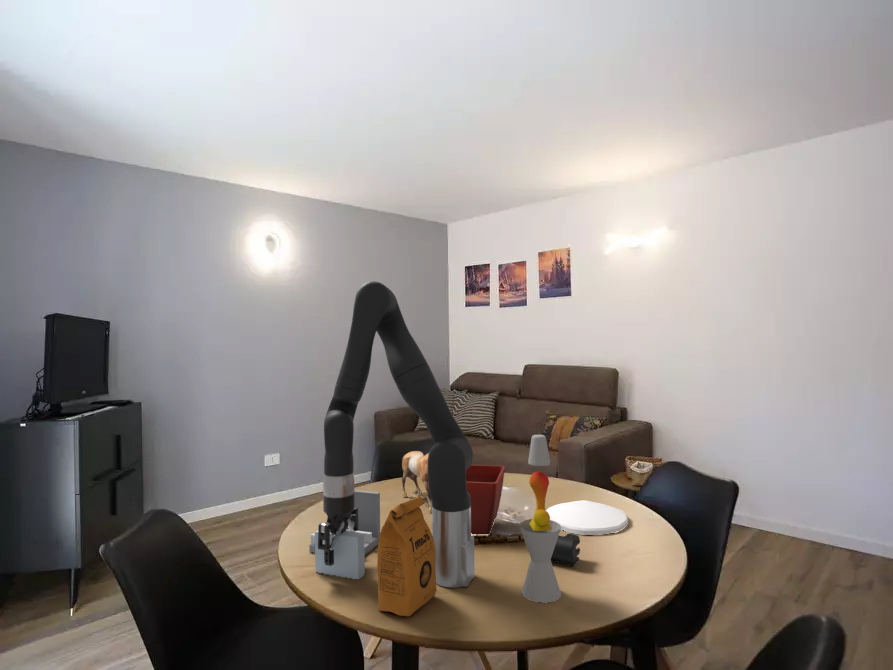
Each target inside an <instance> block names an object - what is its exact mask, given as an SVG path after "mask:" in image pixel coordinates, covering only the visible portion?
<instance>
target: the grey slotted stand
mask: <svg viewBox="0 0 893 670" xmlns="http://www.w3.org/2000/svg"><path fill="white" fill-rule="evenodd" d="M380 494H381V493H380V492H377V491H376V492H375V491H370V490H369V491H366V490H356V489H355V508H358V525H359V529H358V531H355V532H358V533H364V555H365V556H366V555H367V554H368V553H369V552H371V551H372V550H373V549H374V548H376V547H378V542H379V535H380V532H381V497H380V496H381V495H380ZM352 525H353V526H354V522H352ZM308 546H309V551H308V552H309V553H310V552H313V553H312V554H315V533H311V534H310V544H309V545H308Z"/></svg>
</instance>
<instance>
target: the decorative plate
mask: <svg viewBox="0 0 893 670" xmlns="http://www.w3.org/2000/svg"><path fill="white" fill-rule="evenodd" d="M545 510H546V511H547V512H548V513H549V515H550V520H552V521H555V522H557V523H558V524H560V526H561V530H560V531H562V530H564V531H563V532H565V531H566V532H565V533H568V532H569V533H568V534H571V533H574V534H575V535H576V534H580V535H579V536H582V535H594V536H598V535H597V534H607V533H611V532H616V531H620V530H621V529H623V528H624V527H625V526H626V525H627V524H628V521H629V519H628V515H627V513H625V511H623V510H622V509H620V508H617V507H614V506H611V505H608V504H605V503H599V502H597V501H591V500H587V499H586V500H585V499H581V500H575V501H568V502H562V503H558V504H555V505H552V506H549V507H548V508H547V509H545ZM628 525H629V524H628ZM574 534H573V535H574Z"/></svg>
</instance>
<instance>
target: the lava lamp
mask: <svg viewBox="0 0 893 670" xmlns="http://www.w3.org/2000/svg"><path fill="white" fill-rule="evenodd" d="M548 448H549V447H548V441H547V437H546V435H544V434H533V435H532V436H531V440H530V447H529V453H528V459H527V460H528V461H527V463H528V464H529V465H530V466H535V467H546V466H549V465H551V460H550V454H549V449H548ZM549 484H550V479H549V477H548V476H547V474H546V473H545V472H542V471H534V472H533V473H532V474H531V475H530V477H529V487H530V488H531V489H532V491H533V493H534V496H535V499H536V500H535V501H536V503H535V506H536V507H535V512H534V513H533V517H532V518H529V519H525V520H523V521H522V522H520V523H519V528H520V531H521V535H522V537H523V539H524V542H525V546H526V548H527V551H528V554H529V556H530V557H529V558H530V560H529V564H528V568H527V571H526V575H525V578H524V581H523V585H522V588H521V594H523V595H524V596H523V595H522V596H523V598H525V597H526V598H525V599H527V600H528V599H530V600H529V601H531V600H532V601H531V602H533V601H536V602H535V603H538V602H542V603H541V604H548V603H547V602H550V603H554V602H557V601H558V600H559V598H560V599H561V597H562V592H561V589H560V587H559V583H558V580H557V576H556V574H555V570H554V567H553V564H552V561H551V557H552V554H553V551H554V548H555V545H556V542H557V539H558V536H560V532H561V531H562V530H561V526H560V524H558V523H557V522H555V521H552V520H550V515H549V513H548V512H547V511H546V510H547V509H546V496H547V492H548V488H549ZM556 600H557V601H556ZM553 601H554V602H553Z"/></svg>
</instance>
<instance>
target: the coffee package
mask: <svg viewBox="0 0 893 670" xmlns="http://www.w3.org/2000/svg"><path fill="white" fill-rule="evenodd" d="M424 503H425V502H424V500H423V497H422V496H421V497H417V496H416V497H415V498H412V499H409V500H408V501H404V502H401V503H400V504H398V505H396V506H395V507H393V508H391V510H390V511H389V513H388V516H387V517H386V519H385V521H384V524H383V526H382V527H381V529H380V535H379V542H378V545H377V562H376V563H377V565H376V568H377V569H376V570H377V571H376V573H377V595H378V596H377V602H378V605H377V606H378V610H379V611H381V612H391V613H393V614H395V615H397V616H399V617H402V616H403V617H410V616H411V615H413V613H415V612H416V611H417V610H419V609H420V608H421V607H422V606H424V605H426V604H427V603H429V601H430V600H431V599H432V598H433V597H435V595H436V593H437V584H436V569H435V562H436V549H435V544H434V539H433V536H432V531H431V529H430V528H429V525H428V523H427V522H426V521H425V517H424V514H423V510H422V509H421V508H420V507H422V506H423V505H424Z"/></svg>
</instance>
